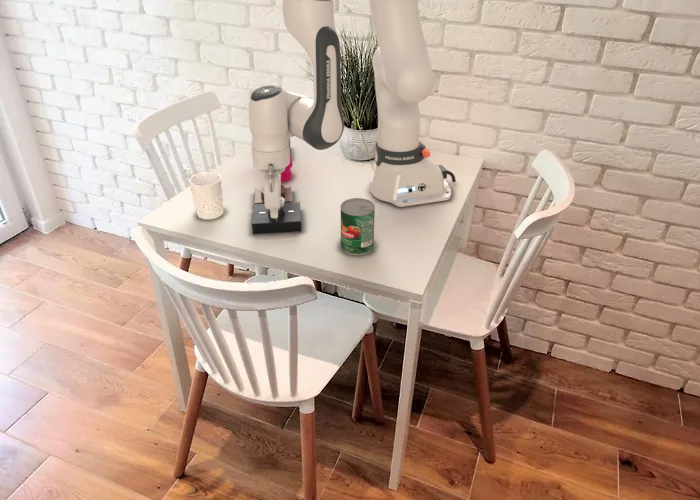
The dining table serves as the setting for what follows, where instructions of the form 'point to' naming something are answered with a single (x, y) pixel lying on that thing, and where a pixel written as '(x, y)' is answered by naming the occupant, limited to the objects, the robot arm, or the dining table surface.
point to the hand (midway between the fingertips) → (274, 207)
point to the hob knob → (282, 208)
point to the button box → (285, 193)
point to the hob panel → (276, 219)
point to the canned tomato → (357, 226)
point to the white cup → (207, 194)
